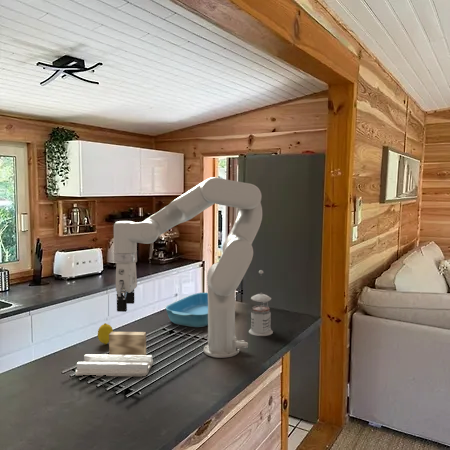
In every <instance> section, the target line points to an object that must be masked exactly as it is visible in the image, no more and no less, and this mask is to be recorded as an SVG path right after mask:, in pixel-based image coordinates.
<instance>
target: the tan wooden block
mask: <svg viewBox="0 0 450 450" xmlns="http://www.w3.org/2000/svg"><path fill="white" fill-rule="evenodd" d="M108 348H109V349H108V350H109V351H108V353H109V354H108V355H147V333H146V331H113V332H111V333H110V334H109V343H108Z"/></svg>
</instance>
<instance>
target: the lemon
mask: <svg viewBox="0 0 450 450" xmlns="http://www.w3.org/2000/svg"><path fill="white" fill-rule="evenodd" d="M111 332H114V329H113V327H112V326H111V324H108V323H103V324H102V325H100V327H99V328H98V330H97V337H98V338H97V339H98V341H99V342H100V343H102V344H104V345H107V344H109V334H110V333H111Z"/></svg>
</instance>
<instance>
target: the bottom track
mask: <svg viewBox="0 0 450 450" xmlns="http://www.w3.org/2000/svg"><path fill="white" fill-rule="evenodd" d="M153 364H154V360H153V355H152V354H146V355H109V354H105V353H104V354H98V353H97V354H95V353H94V354H93V353H91V354H90V353H86V354H84V355H83V361H78V362H77V363H76V370H75V376H83V375H96V376H97V377H104V376H103V375H106V376H105V377H142V376H146V375H147V376H148V374H149V372H150V370H151V369H152V366H153ZM147 376H146V377H147Z"/></svg>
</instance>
